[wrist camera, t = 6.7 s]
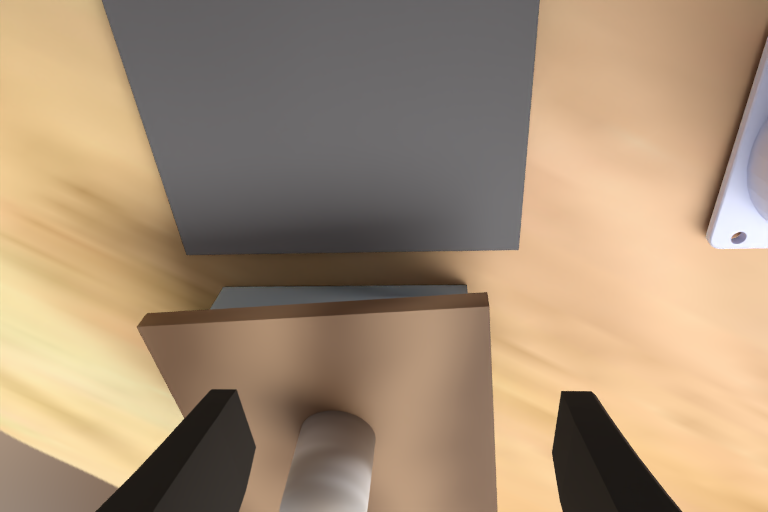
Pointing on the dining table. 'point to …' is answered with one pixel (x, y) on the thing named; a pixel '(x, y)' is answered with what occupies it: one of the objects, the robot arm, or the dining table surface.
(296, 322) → the lid
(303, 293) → the light blue tray
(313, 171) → the mat
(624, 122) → the dining table surface
